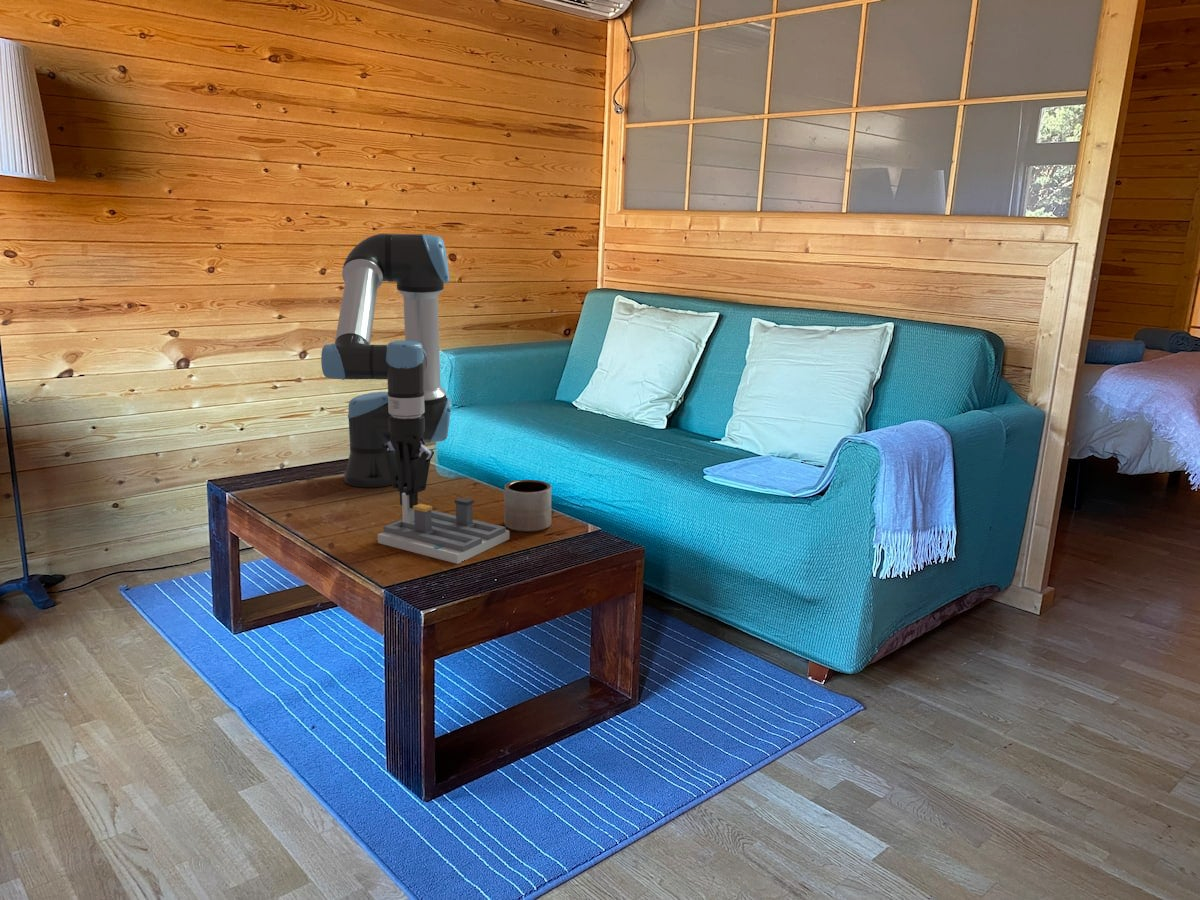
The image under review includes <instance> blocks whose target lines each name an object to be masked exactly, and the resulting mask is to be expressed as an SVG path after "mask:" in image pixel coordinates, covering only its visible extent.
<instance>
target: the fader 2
mask: <svg viewBox="0 0 1200 900" xmlns="http://www.w3.org/2000/svg"><path fill="white" fill-rule="evenodd" d="M474 503H475V502H474V499H470V498H466V497H459V498H457V499H454V504H455V516H456V523H454V524H457V525H462V526H466V527H470V528H475V524H473V520H474V519H473V518H474V517H473V504H474Z"/></svg>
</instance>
